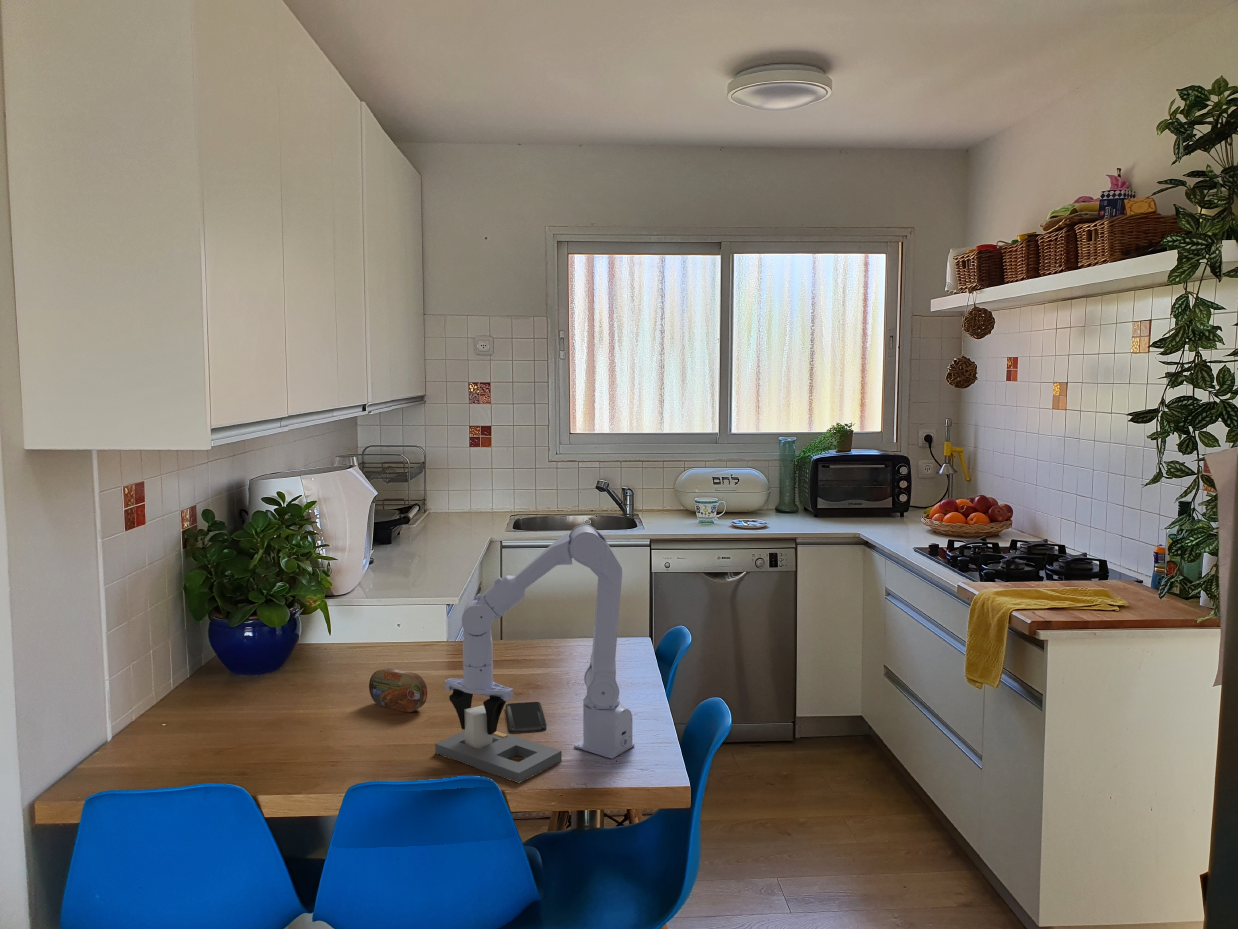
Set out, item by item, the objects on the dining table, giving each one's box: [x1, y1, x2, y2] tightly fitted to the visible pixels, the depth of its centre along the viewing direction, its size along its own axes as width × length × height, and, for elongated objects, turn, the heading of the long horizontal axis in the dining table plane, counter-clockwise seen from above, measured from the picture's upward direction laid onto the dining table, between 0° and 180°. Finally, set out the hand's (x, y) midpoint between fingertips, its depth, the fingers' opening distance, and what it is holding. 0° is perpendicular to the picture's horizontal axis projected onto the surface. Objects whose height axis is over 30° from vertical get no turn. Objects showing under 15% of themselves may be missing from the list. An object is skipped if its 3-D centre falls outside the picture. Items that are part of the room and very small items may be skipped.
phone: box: [505, 701, 547, 734], centre depth 191 cm, size 8×1×15 cm
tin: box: [368, 668, 428, 713], centre depth 197 cm, size 15×3×8 cm, turn 62°
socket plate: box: [434, 729, 563, 782], centre depth 171 cm, size 22×12×2 cm, turn 54°
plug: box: [464, 704, 492, 749], centre depth 174 cm, size 4×4×7 cm
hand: (478, 730), depth 174 cm, fingers closed on plug, 5 cm apart
